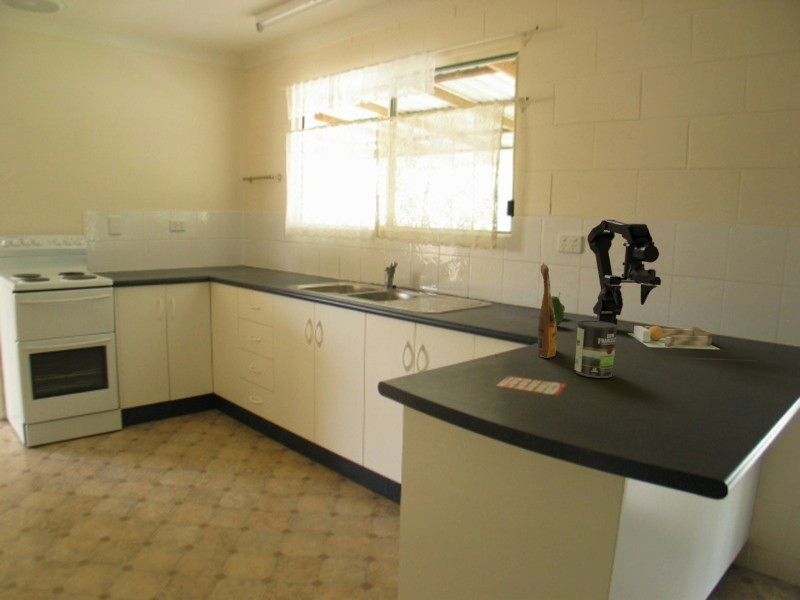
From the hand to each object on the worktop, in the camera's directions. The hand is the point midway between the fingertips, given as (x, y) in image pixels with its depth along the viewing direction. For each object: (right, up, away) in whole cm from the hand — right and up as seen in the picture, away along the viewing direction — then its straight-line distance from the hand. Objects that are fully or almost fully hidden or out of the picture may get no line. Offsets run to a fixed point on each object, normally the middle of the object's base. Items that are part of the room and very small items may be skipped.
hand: (629, 304), depth 202 cm
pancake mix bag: (-35, -15, -21) cm, 43 cm away
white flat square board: (+14, -13, -1) cm, 19 cm away
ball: (+8, -10, -1) cm, 13 cm away
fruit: (-21, -9, +22) cm, 32 cm away
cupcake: (-16, -6, +39) cm, 43 cm away
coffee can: (-27, -19, -43) cm, 54 cm away
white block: (+4, -13, 0) cm, 13 cm away
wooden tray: (+16, -13, -1) cm, 21 cm away
